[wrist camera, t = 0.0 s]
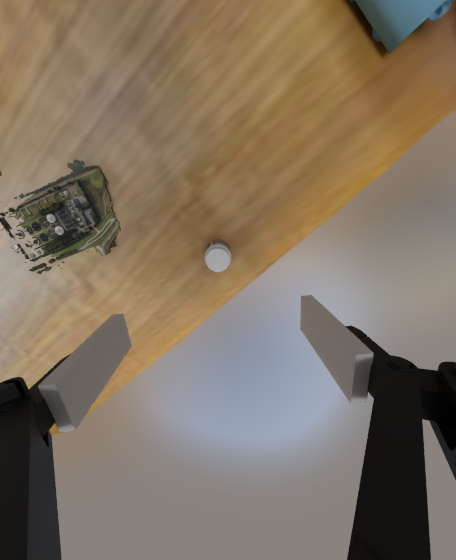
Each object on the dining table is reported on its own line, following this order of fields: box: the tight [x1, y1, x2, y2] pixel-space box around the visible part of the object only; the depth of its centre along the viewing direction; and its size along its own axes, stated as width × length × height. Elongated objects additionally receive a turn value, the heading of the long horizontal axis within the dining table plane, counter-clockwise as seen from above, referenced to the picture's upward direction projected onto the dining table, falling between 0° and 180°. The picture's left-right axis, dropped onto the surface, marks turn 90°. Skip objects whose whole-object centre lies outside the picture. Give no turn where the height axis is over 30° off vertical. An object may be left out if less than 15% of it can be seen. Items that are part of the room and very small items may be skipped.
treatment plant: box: [0, 160, 121, 274], centre depth 38 cm, size 25×18×4 cm
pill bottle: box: [204, 240, 231, 272], centre depth 38 cm, size 5×5×8 cm
